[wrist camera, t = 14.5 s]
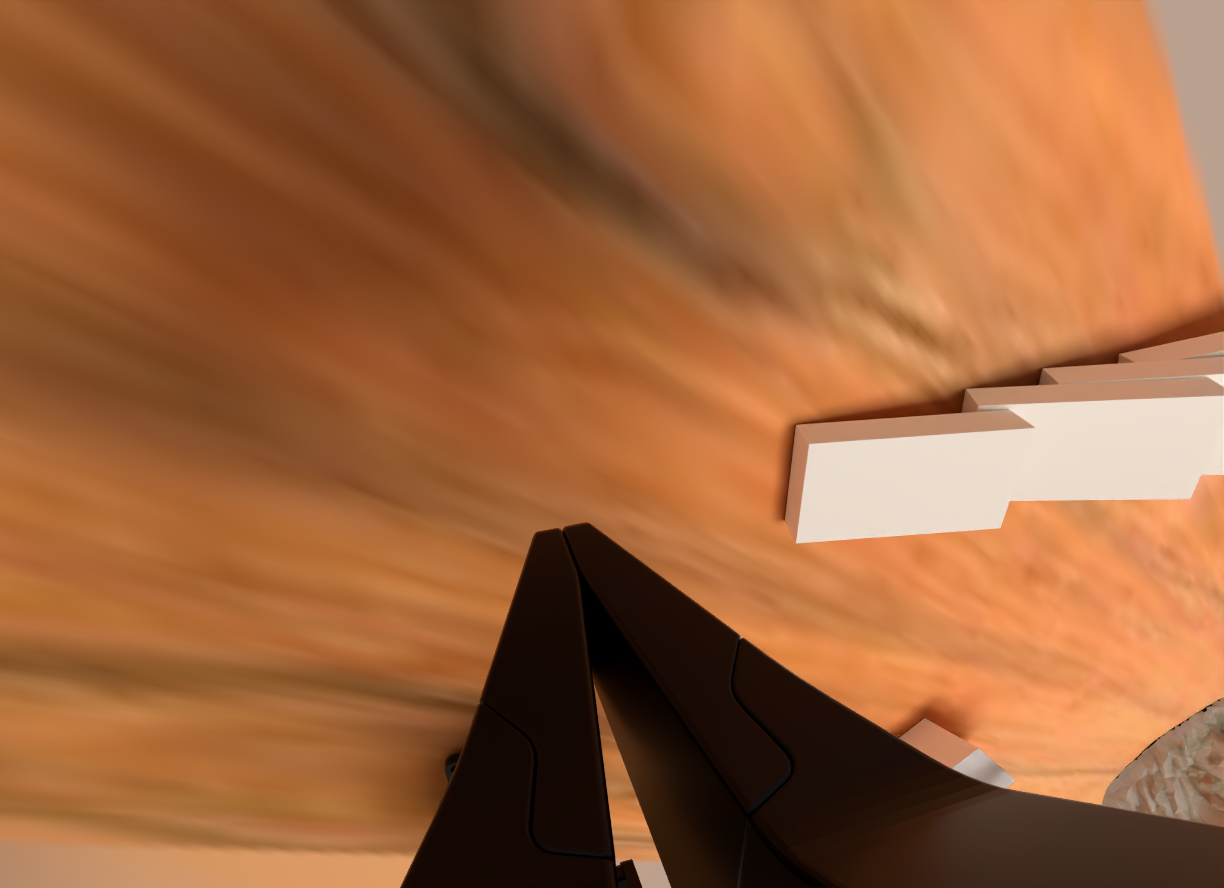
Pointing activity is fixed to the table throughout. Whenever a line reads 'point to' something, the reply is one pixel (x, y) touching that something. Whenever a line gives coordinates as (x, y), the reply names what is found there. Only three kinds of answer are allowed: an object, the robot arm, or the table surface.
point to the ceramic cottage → (1178, 772)
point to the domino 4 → (1214, 368)
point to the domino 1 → (904, 475)
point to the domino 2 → (1111, 436)
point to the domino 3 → (1179, 350)
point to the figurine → (956, 753)
